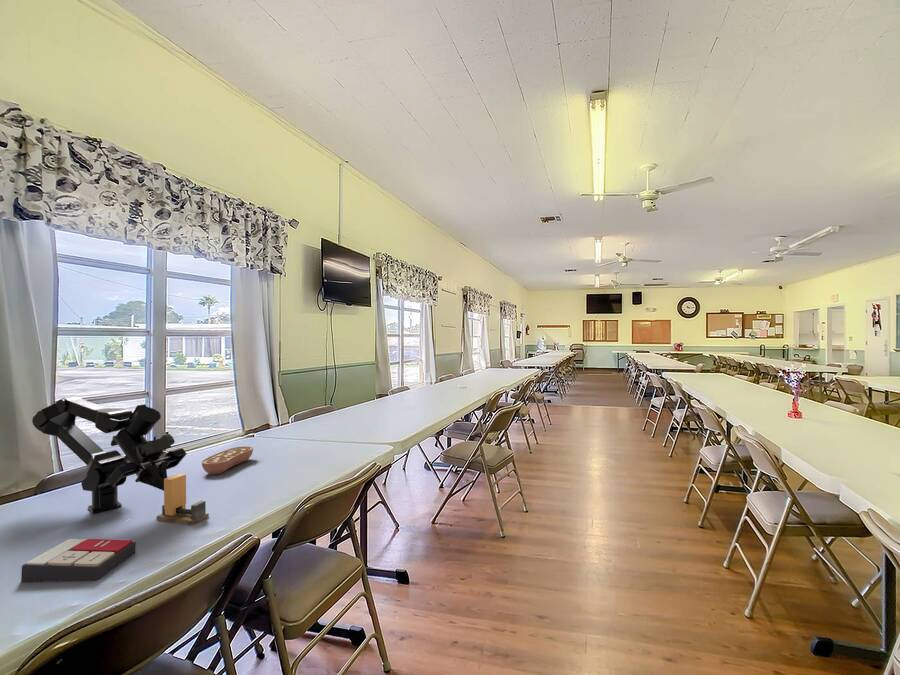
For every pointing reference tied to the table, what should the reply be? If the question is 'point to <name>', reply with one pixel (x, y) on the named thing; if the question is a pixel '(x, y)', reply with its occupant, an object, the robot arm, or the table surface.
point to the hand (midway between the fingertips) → (167, 489)
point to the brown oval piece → (226, 459)
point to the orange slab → (174, 493)
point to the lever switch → (186, 514)
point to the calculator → (78, 560)
